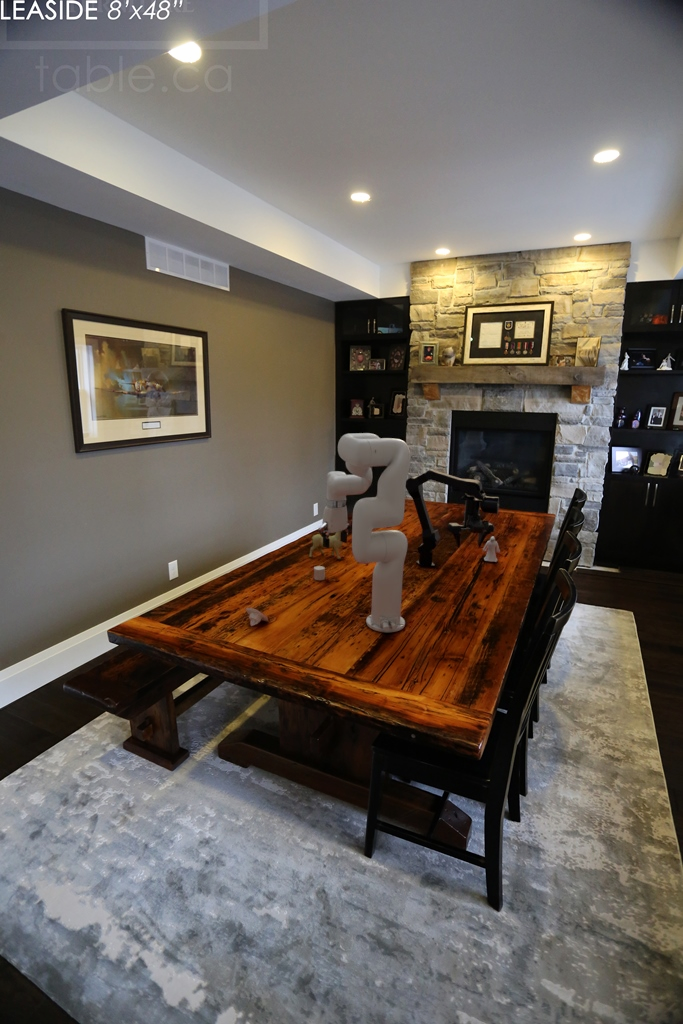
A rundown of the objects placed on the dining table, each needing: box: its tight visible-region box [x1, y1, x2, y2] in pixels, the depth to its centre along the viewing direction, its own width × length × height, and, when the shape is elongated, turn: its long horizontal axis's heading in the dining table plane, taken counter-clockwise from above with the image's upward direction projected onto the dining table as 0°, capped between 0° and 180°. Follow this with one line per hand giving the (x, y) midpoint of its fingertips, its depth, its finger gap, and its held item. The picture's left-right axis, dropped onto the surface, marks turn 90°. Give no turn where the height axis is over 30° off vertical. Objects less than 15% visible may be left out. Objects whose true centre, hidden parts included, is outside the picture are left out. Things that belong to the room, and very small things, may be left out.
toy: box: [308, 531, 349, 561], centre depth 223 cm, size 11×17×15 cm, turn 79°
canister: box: [313, 565, 326, 581], centre depth 200 cm, size 4×4×4 cm
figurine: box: [482, 535, 501, 563], centre depth 223 cm, size 8×8×12 cm
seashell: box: [245, 607, 269, 627], centre depth 160 cm, size 8×5×8 cm
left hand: (334, 544), depth 199 cm, fingers open, 9 cm apart
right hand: (468, 547), depth 209 cm, fingers open, 9 cm apart
